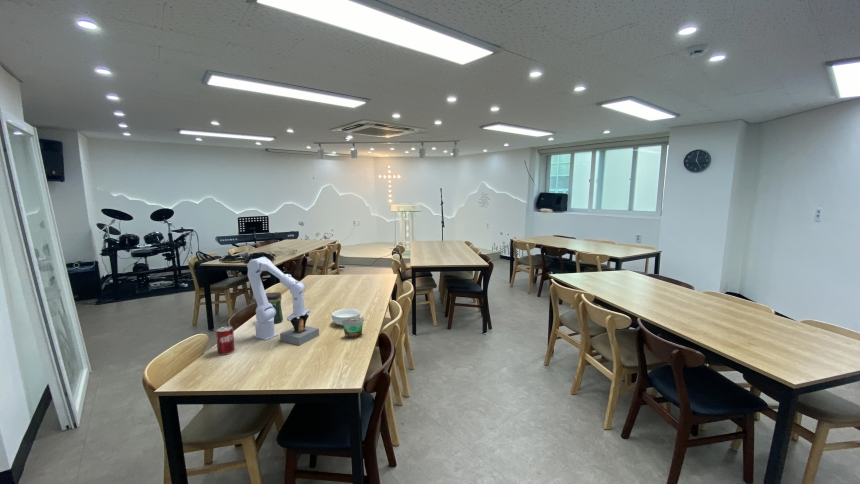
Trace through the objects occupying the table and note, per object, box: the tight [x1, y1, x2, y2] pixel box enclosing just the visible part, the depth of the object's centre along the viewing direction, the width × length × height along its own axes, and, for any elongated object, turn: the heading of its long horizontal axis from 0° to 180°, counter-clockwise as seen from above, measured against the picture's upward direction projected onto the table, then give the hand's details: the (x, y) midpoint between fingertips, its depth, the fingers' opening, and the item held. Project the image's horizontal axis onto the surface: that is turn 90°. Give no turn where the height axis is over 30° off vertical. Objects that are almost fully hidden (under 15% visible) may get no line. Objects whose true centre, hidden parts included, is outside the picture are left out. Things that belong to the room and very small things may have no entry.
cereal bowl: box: [331, 308, 361, 327], centre depth 200 cm, size 17×17×7 cm
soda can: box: [215, 326, 236, 356], centre depth 161 cm, size 7×7×12 cm
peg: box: [296, 317, 304, 334], centre depth 178 cm, size 4×4×8 cm
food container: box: [342, 316, 365, 339], centre depth 180 cm, size 12×6×10 cm, turn 117°
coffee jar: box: [265, 292, 284, 324], centre depth 202 cm, size 10×8×19 cm
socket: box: [279, 325, 320, 346], centre depth 178 cm, size 14×14×4 cm
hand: (299, 329), depth 178 cm, fingers closed on peg, 4 cm apart
